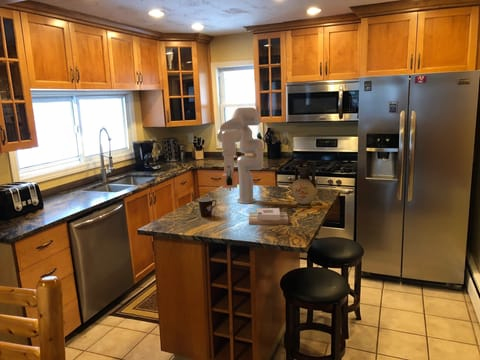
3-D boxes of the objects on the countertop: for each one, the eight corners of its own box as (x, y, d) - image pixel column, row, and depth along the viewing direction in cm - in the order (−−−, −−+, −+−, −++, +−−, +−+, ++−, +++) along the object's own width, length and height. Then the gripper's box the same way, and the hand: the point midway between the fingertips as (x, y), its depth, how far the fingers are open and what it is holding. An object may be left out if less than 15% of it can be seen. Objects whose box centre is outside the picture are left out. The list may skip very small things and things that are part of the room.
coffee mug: (200, 218, 231) (199, 202, 229) (198, 214, 239) (197, 198, 237) (219, 216, 234) (218, 200, 232) (216, 212, 242) (215, 197, 240)
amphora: (322, 204, 255) (322, 158, 249) (311, 210, 241) (311, 162, 235) (297, 200, 264) (297, 157, 258) (286, 206, 251) (285, 160, 245)
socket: (257, 213, 231) (257, 207, 230) (279, 213, 230) (279, 207, 230) (256, 219, 218) (256, 213, 217) (280, 219, 218) (280, 213, 217)
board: (249, 215, 233) (249, 212, 233) (286, 215, 232) (286, 212, 231) (249, 224, 217) (248, 220, 217) (288, 223, 216) (288, 220, 216)
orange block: (223, 188, 227) (223, 173, 225) (237, 188, 226) (237, 173, 224) (222, 191, 220) (222, 175, 218) (236, 191, 220) (236, 175, 218)
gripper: (223, 150, 227) (224, 180, 231) (220, 155, 211) (222, 187, 214) (236, 150, 227) (237, 180, 231) (234, 154, 210) (235, 187, 214)
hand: (230, 183), depth 222 cm, fingers closed on orange block, 6 cm apart
